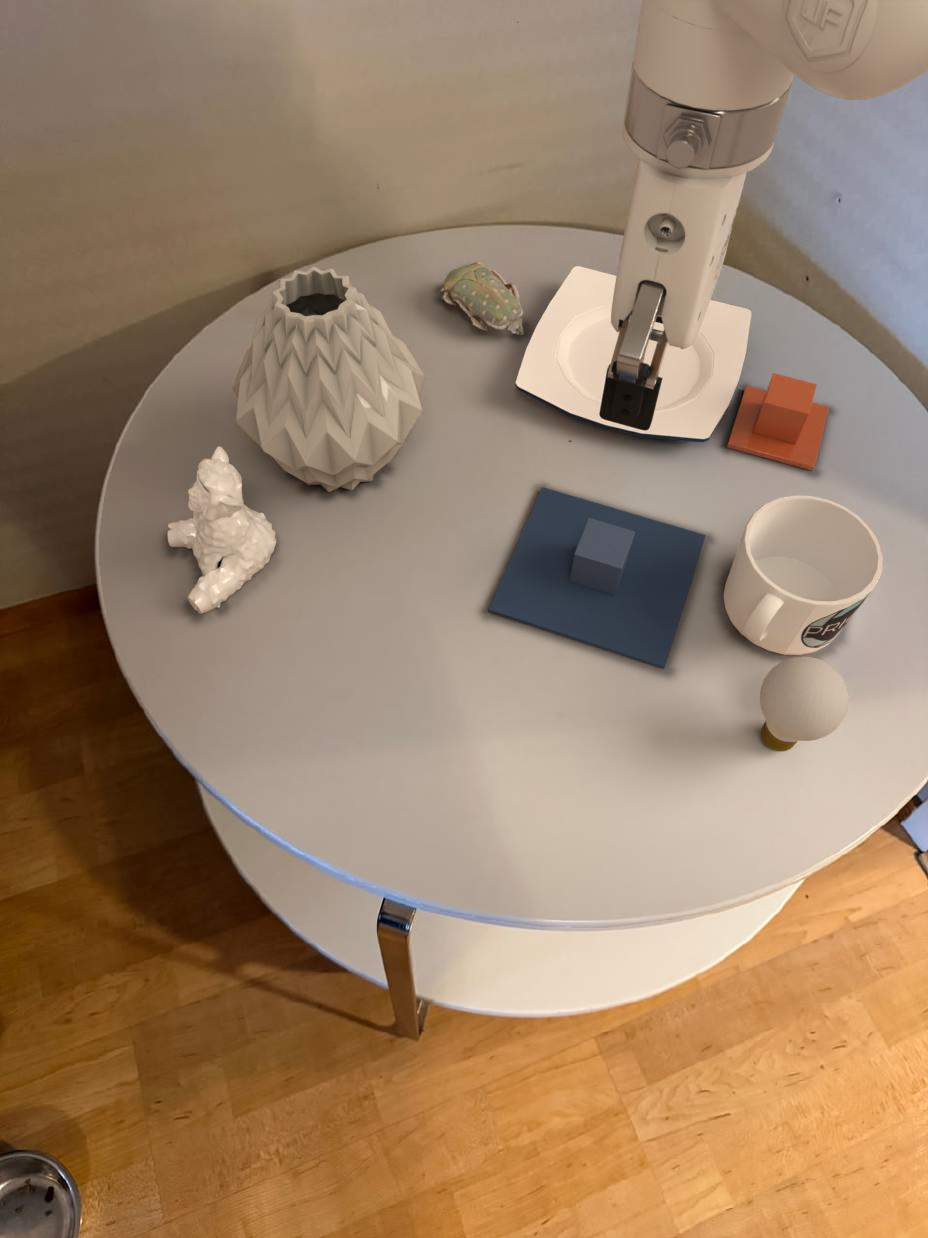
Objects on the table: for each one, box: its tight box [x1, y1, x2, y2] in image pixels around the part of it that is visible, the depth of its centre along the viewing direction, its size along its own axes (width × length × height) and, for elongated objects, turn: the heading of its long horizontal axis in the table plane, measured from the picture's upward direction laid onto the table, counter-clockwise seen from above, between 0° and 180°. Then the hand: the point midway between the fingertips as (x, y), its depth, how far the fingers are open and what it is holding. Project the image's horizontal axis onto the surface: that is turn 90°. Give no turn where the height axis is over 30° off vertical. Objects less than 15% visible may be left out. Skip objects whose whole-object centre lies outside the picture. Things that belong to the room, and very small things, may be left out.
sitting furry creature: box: [167, 446, 277, 615], centre depth 76 cm, size 10×9×12 cm
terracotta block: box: [753, 372, 817, 444], centre depth 87 cm, size 4×4×4 cm
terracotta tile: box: [726, 385, 830, 471], centre depth 89 cm, size 8×8×1 cm
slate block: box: [570, 518, 635, 596], centre depth 78 cm, size 4×4×4 cm
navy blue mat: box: [488, 486, 706, 669], centre depth 80 cm, size 15×14×1 cm
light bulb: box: [759, 656, 850, 752], centre depth 68 cm, size 6×6×10 cm
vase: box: [232, 265, 426, 493], centre depth 79 cm, size 16×16×18 cm
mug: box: [723, 495, 884, 656], centre depth 75 cm, size 13×10×8 cm
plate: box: [514, 265, 753, 443], centre depth 92 cm, size 20×20×3 cm
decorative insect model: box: [439, 261, 525, 336], centre depth 97 cm, size 9×11×5 cm
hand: (645, 369), depth 61 cm, fingers open, 9 cm apart
